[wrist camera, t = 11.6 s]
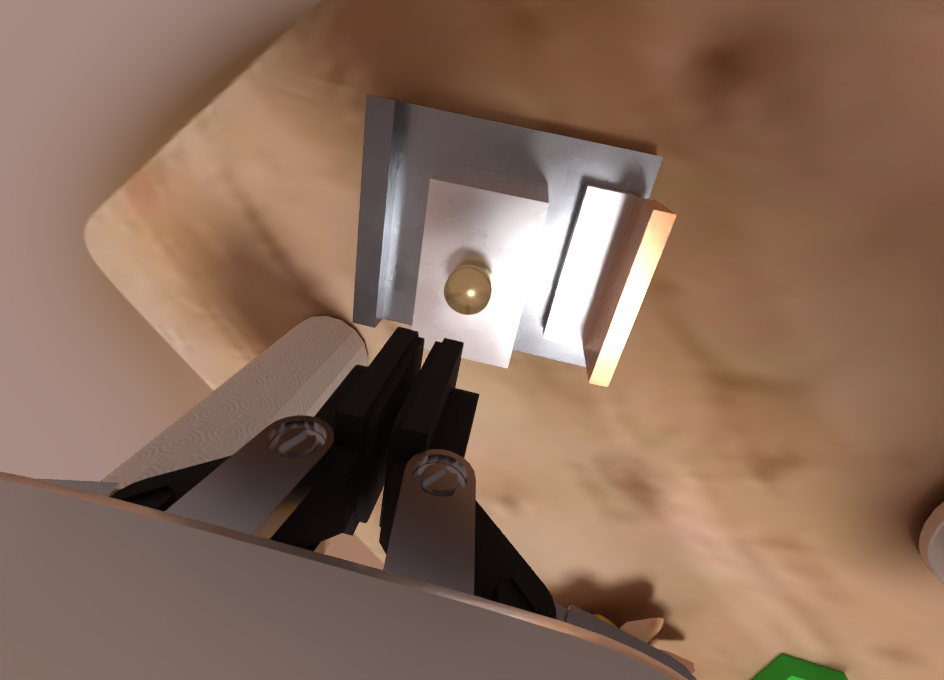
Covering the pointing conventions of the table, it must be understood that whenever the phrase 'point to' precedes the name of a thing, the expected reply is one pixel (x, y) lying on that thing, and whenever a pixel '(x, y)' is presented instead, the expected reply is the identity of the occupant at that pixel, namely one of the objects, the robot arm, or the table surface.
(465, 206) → the block
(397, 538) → the robot arm
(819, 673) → the mechanical part
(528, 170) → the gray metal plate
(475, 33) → the table surface
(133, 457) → the paper towel roll
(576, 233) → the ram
